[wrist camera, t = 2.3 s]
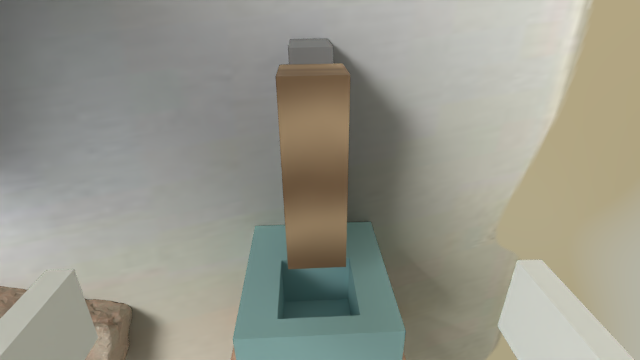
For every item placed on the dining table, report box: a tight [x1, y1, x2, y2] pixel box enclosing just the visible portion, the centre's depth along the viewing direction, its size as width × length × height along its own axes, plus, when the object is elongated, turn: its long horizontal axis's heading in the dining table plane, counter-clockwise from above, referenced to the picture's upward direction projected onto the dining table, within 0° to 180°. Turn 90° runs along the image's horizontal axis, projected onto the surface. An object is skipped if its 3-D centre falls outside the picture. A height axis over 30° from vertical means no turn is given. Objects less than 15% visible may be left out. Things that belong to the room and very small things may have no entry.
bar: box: [276, 63, 350, 269], centre depth 24 cm, size 13×4×4 cm, turn 1°
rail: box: [288, 39, 333, 65], centre depth 29 cm, size 16×3×6 cm, turn 1°
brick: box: [0, 286, 132, 360], centre depth 37 cm, size 17×8×5 cm, turn 76°
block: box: [233, 222, 406, 360], centre depth 31 cm, size 6×11×13 cm, turn 91°
